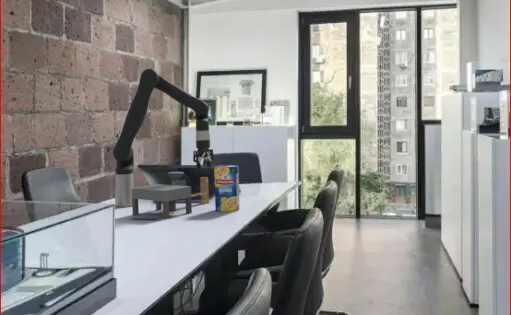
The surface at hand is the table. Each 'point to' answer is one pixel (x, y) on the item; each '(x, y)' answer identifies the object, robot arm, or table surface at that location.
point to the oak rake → (203, 194)
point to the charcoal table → (161, 197)
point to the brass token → (169, 212)
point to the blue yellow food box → (227, 188)
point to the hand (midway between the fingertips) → (203, 169)
